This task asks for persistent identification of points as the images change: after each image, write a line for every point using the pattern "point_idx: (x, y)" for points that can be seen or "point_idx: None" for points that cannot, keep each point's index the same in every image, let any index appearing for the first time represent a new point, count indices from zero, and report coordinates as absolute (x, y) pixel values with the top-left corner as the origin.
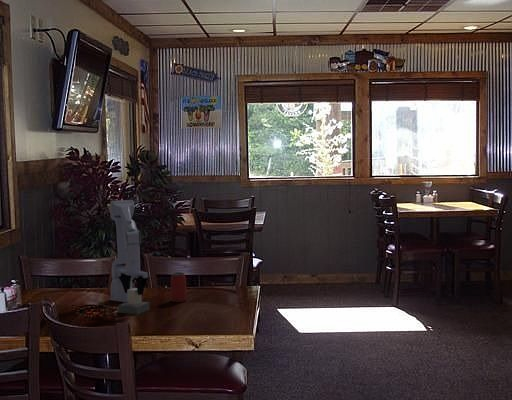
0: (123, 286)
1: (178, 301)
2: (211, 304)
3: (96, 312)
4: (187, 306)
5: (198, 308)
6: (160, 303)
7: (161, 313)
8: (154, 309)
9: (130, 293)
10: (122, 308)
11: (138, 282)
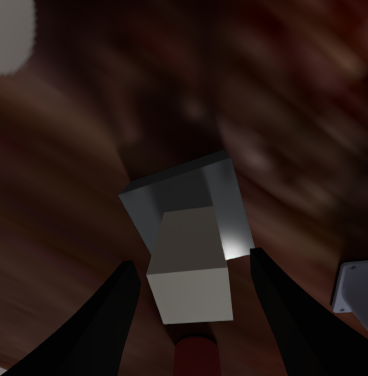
0: (286, 283)
1: (180, 341)
2: None
3: (332, 67)
4: None
5: None
6: None
7: (88, 244)
8: None
9: (191, 249)
10: (202, 162)
11: (18, 371)
